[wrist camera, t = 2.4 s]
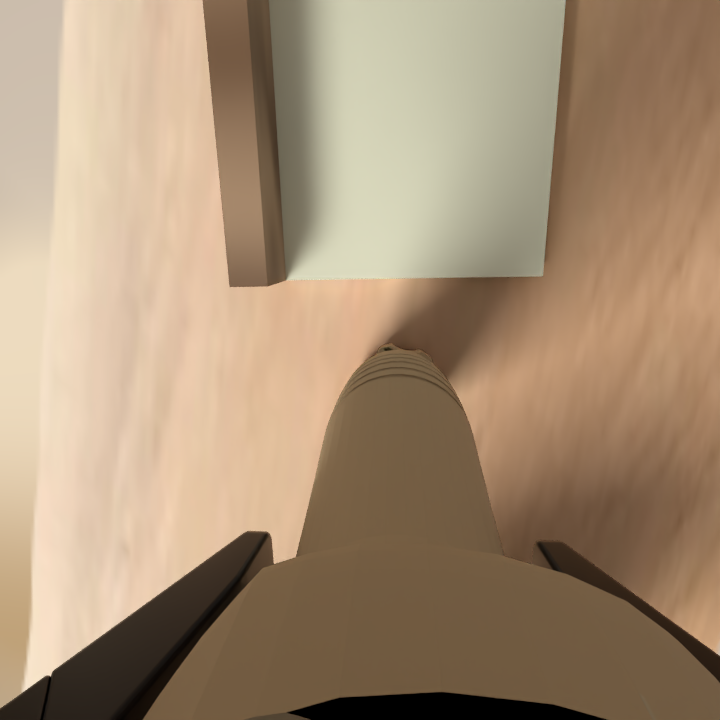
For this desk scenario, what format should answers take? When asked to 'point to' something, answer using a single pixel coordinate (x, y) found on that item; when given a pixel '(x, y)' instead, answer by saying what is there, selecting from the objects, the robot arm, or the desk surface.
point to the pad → (415, 135)
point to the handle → (423, 595)
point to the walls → (246, 139)
